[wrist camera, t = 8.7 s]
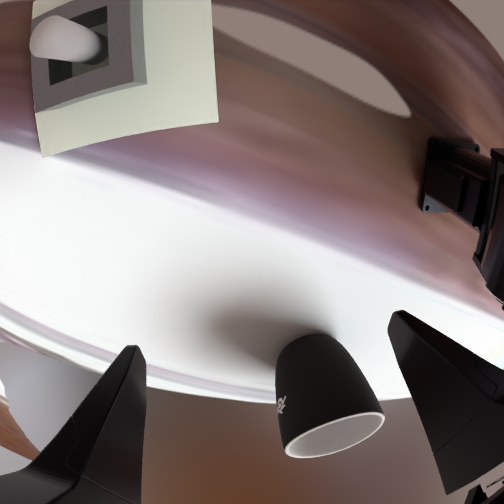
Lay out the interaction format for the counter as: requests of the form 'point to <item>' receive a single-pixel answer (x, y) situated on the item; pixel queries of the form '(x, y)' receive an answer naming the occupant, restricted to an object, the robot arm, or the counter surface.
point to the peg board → (140, 97)
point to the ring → (100, 80)
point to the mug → (323, 398)
